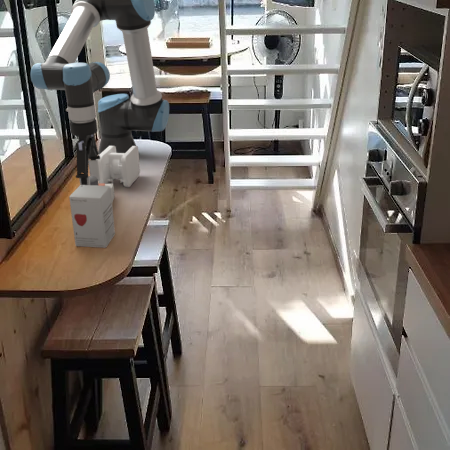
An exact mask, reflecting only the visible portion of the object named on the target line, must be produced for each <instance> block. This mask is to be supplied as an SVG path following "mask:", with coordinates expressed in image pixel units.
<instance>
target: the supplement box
mask: <svg viewBox="0 0 450 450" xmlns="http://www.w3.org/2000/svg"><path fill="white" fill-rule="evenodd" d="M68 198H69V204H70V205H69V206H70V212H71V219H72V229H73V235H74V245H75V247H84V248H85V247H89V248H105V249H106V248H107V247H108V245H109V244H110V243H111V241H112V240H113V238H114V236H115V235H116V229H115V221H114V220H115V219H114V210H113V202H112V197H111V186H98V185H80V184H79V186H78V187H77V188H76V189H75V190H74V191H73V192H72V193H70V195H69V197H68Z"/></svg>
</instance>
